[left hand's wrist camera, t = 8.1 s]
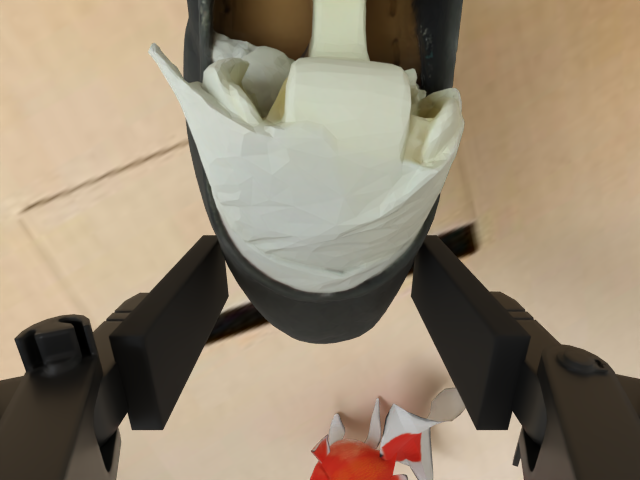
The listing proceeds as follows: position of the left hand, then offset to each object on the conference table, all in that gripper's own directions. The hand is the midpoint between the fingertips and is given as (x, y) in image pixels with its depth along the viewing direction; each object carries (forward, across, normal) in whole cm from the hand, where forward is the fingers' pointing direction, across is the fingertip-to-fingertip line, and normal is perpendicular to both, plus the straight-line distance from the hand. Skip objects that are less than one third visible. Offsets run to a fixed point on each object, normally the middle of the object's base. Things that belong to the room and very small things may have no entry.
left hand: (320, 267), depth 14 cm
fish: (+12, -6, +20) cm, 24 cm away
